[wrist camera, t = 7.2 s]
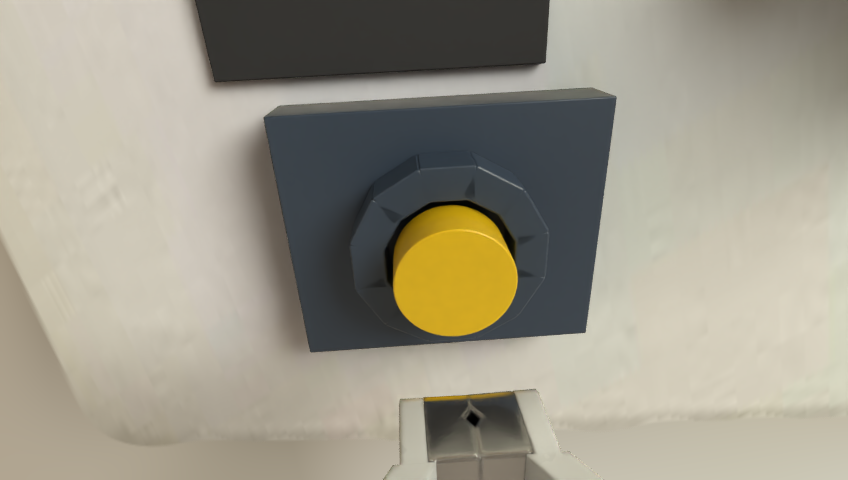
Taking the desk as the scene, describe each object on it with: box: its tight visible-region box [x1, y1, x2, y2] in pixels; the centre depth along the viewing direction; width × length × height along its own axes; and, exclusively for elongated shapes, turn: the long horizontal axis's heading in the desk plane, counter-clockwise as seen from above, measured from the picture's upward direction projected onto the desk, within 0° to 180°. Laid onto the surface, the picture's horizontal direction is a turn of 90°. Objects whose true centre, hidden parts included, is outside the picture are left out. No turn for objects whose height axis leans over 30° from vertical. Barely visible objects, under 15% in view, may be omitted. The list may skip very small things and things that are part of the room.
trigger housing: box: [264, 88, 616, 352], centre depth 18 cm, size 12×10×4 cm
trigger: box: [393, 205, 518, 336], centre depth 15 cm, size 4×4×2 cm
